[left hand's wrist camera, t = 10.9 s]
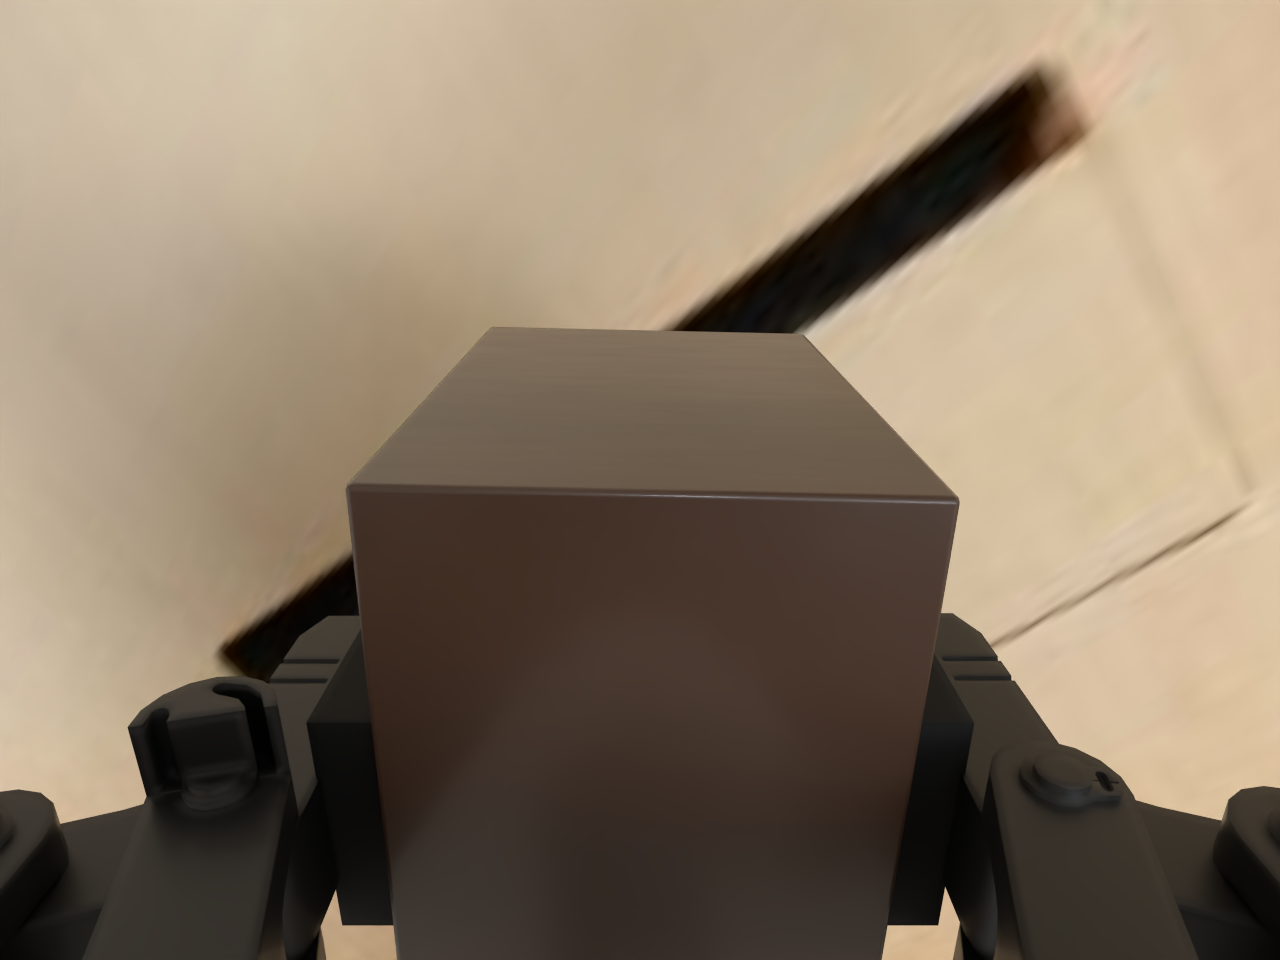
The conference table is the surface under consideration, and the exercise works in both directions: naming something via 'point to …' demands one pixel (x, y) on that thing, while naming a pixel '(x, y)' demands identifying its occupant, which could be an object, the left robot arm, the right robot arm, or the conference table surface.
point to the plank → (646, 650)
